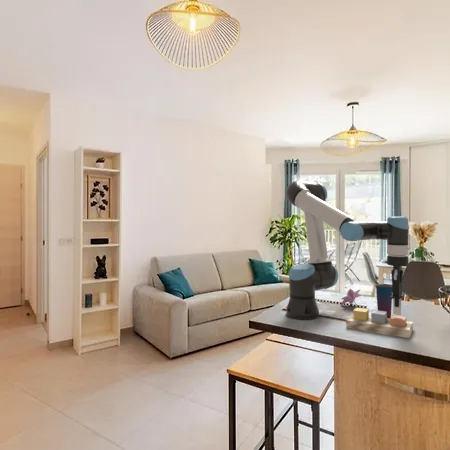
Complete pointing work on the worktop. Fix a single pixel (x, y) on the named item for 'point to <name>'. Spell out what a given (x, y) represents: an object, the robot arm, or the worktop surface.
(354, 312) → the yellow block
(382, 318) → the grey block
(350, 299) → the lily
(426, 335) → the worktop surface
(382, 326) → the button board
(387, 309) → the cup
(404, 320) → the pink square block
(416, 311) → the worktop surface
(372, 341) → the worktop surface
